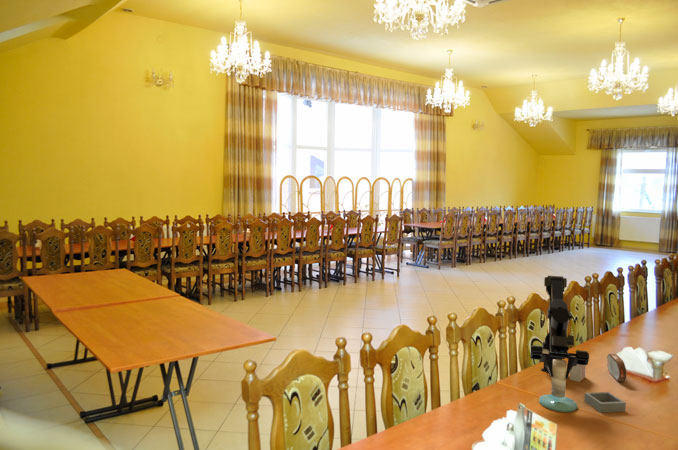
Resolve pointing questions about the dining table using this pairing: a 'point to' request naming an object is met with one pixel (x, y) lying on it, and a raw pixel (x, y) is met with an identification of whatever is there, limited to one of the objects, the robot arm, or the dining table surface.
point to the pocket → (599, 402)
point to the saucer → (558, 403)
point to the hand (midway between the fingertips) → (559, 377)
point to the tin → (616, 367)
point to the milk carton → (577, 373)
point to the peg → (558, 377)
